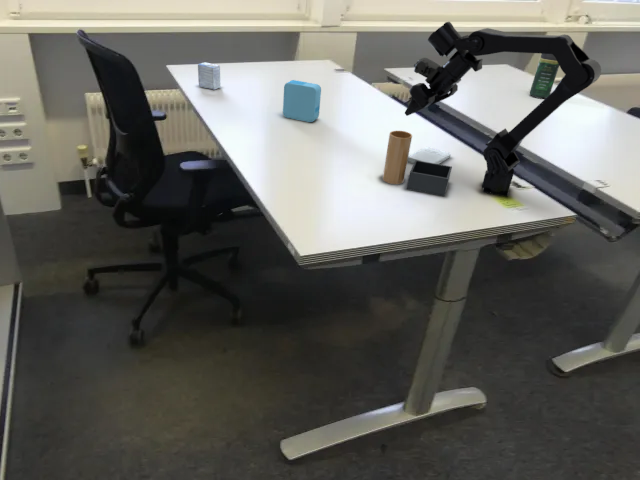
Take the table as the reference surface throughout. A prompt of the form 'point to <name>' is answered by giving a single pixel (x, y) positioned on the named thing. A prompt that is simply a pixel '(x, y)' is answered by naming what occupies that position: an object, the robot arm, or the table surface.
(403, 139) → the cup
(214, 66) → the medicine box
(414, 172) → the bin
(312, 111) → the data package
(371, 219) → the table surface
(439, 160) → the hard drive
